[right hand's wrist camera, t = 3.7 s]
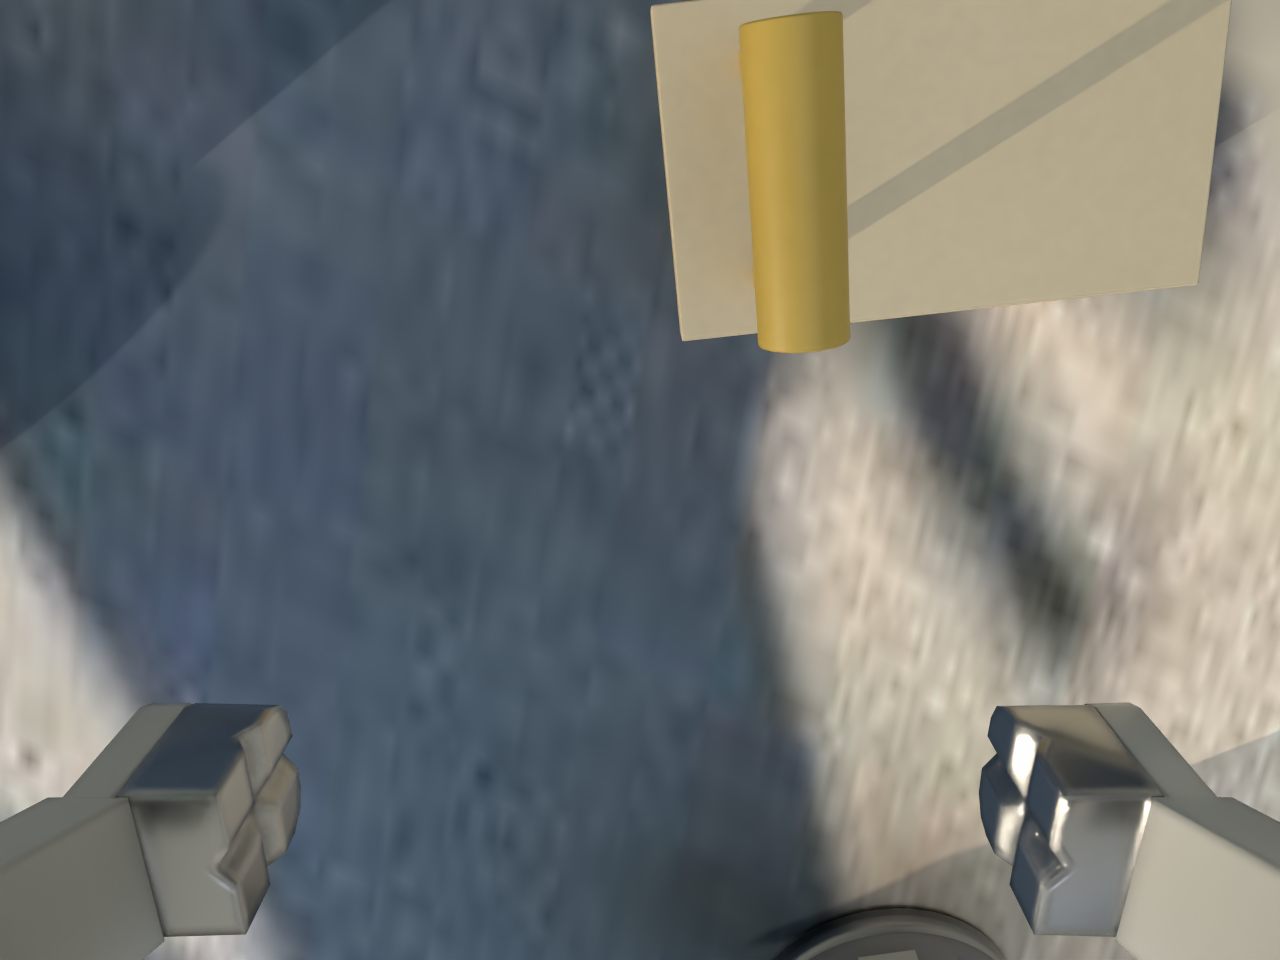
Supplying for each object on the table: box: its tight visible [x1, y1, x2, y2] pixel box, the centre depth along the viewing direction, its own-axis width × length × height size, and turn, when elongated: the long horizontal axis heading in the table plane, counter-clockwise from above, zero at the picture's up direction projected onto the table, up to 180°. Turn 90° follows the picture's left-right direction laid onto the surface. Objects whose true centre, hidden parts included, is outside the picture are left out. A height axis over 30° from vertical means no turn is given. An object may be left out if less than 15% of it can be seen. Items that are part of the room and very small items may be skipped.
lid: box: [650, 0, 1232, 353], centre depth 24 cm, size 16×10×9 cm, turn 96°
